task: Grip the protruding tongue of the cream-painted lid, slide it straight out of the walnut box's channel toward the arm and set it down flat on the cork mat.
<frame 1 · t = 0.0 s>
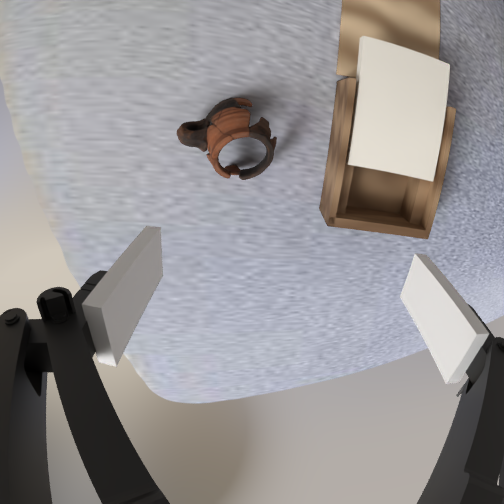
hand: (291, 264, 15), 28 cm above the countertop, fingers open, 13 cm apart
pottery mug: (230, 133, 39), on the countertop
walnut box: (379, 154, 39), on the countertop
cover plate: (399, 109, 32), point 4 cm above the countertop, touching walnut box
cork mat: (393, 28, 30), on the countertop
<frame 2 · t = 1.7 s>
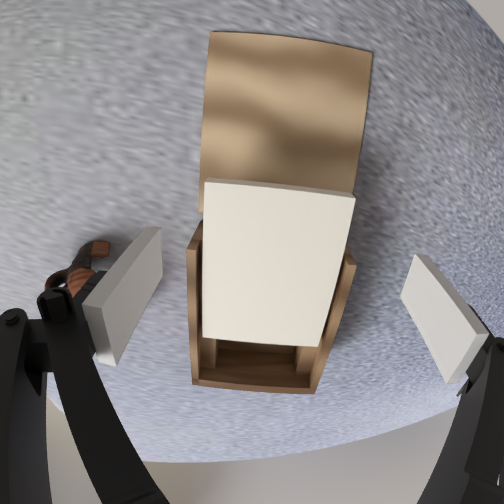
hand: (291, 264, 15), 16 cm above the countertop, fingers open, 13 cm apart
pottery mug: (101, 274, 36), on the countertop
walnut box: (262, 299, 36), on the countertop
cover plate: (270, 268, 29), point 4 cm above the countertop, touching walnut box
cork mat: (283, 128, 27), on the countertop
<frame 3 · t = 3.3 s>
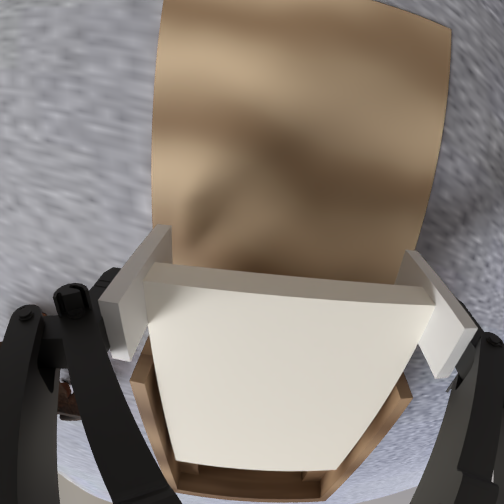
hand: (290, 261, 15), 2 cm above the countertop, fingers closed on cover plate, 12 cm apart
pottery mug: (46, 348, 23), on the countertop
walnut box: (261, 400, 23), on the countertop
cover plate: (272, 395, 16), point 5 cm above the countertop, touching gripper, walnut box
cork mat: (301, 154, 15), on the countertop
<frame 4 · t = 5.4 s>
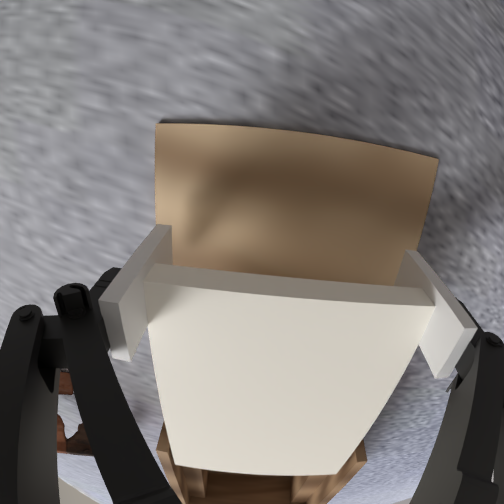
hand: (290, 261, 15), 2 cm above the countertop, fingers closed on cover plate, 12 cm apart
pottery mug: (72, 396, 26), on the countertop
walnut box: (255, 443, 27), on the countertop
cover plate: (272, 399, 16), point 5 cm above the countertop, touching gripper
cork mat: (284, 289, 18), on the countertop
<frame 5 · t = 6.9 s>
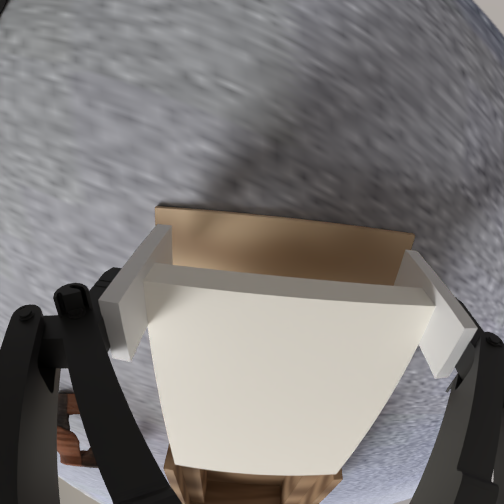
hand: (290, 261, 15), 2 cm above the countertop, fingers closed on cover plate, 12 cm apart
pottery mug: (83, 413, 28), on the countertop
walnut box: (249, 457, 29), on the countertop
cover plate: (272, 399, 16), point 5 cm above the countertop, touching gripper
cork mat: (271, 342, 21), on the countertop
when the fingers open (2 cm above the countertop, at t = 7.7 s): cover plate drops 5 cm, resting on cork mat.
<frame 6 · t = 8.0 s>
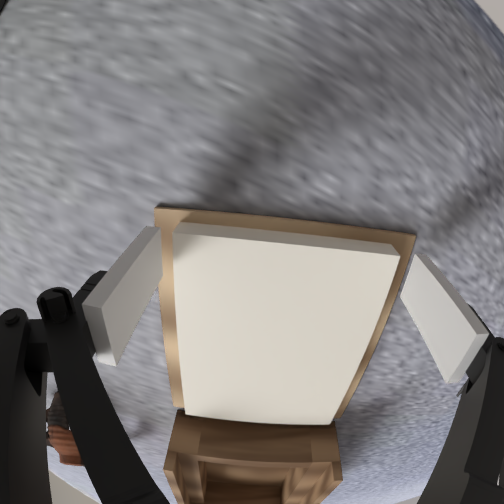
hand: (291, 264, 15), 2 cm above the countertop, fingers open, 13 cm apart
pottery mug: (83, 412, 28), on the countertop
walnut box: (249, 458, 29), on the countertop
cover plate: (271, 342, 20), resting on cork mat
cork mat: (271, 343, 21), on the countertop
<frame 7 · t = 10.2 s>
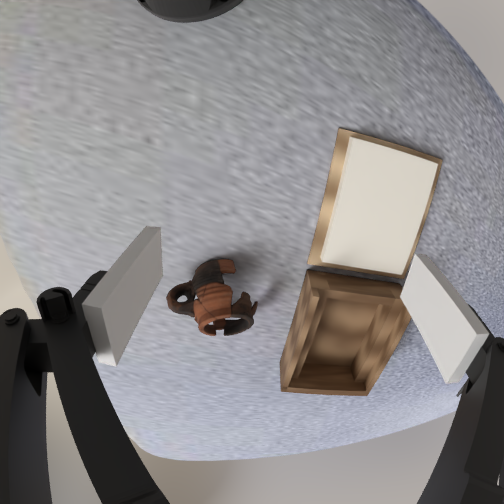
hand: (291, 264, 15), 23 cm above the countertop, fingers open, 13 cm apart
pottery mug: (215, 287, 44), on the countertop
walnut box: (337, 326, 46), on the countertop
cover plate: (378, 208, 37), resting on cork mat
cork mat: (377, 210, 38), on the countertop
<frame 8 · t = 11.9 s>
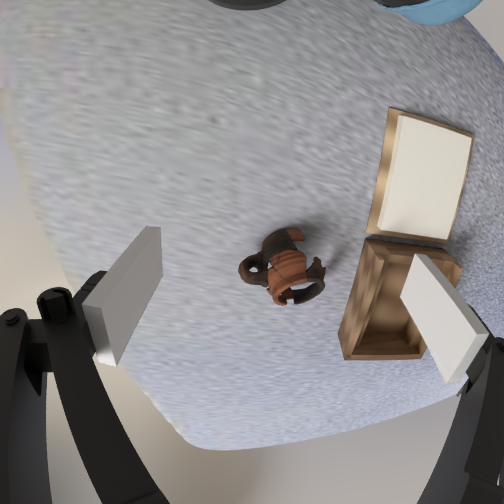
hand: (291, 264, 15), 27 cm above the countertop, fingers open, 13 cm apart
pottery mug: (281, 258, 45), on the countertop
walnut box: (391, 293, 47), on the countertop
cover plate: (425, 179, 38), resting on cork mat
cork mat: (423, 181, 39), on the countertop
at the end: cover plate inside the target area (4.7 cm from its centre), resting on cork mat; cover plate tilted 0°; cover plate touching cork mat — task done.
